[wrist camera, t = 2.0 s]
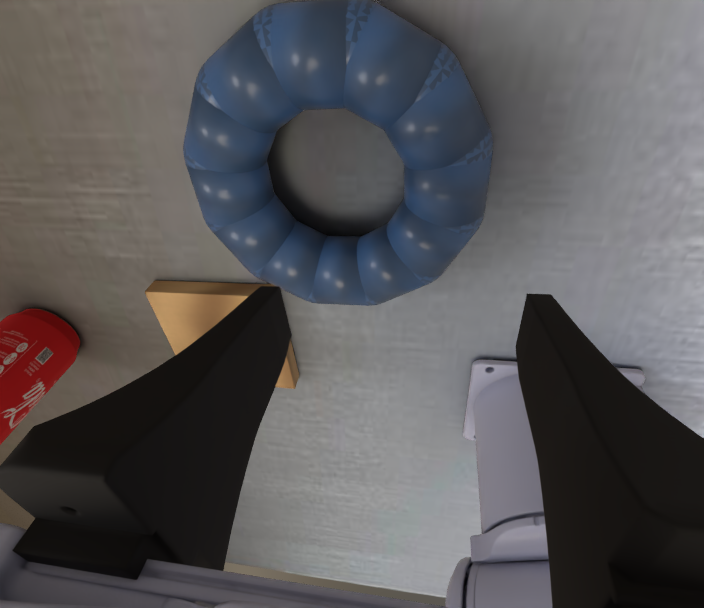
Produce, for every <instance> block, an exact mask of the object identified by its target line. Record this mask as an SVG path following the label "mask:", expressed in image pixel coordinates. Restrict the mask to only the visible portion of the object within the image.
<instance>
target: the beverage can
mask: <svg viewBox="0 0 704 608" xmlns="http://www.w3.org/2000/svg"><path fill="white" fill-rule="evenodd" d="M80 344H81V341H80V337H79V335H78V333H77V332H76V331H75V329H74V328H73V327H72V326H71V325H70V324H69V323H68V322H66V321H65V320H64V319H62V318H61V317H59V316H57V315H56V314H54V313H52V312H49V311H46V310H43V309H39V308H28V309H25V310H24V311H22V312H19V313H16V314H12V315H9V316H7V317H6V318H5V319H3V320H2V321H1V322H0V445H1V443H2V442H3V441H4V440H5V439H6V438H7V437H8V436H9V434H10V433H11V432H12V431H13V430H14V429H15V428H16V427H17V425H18V424H19V423H20V422H21V421H22V420H23V419H24V418H25V416H26V415H27V414H28V413H29V412H30V411H31V410H32V409H33V407H34V406H35V405H36V404H37V403H38V402H39V401H40V400H41V398H42V397H43V396H44V395H45V394H46V393H47V392H48V391H49V390H50V388H51V387H52V386H53V385H54V384H55V383H56V382H57V381H58V379H59V378H60V377H61V376H62V375H63V374H64V373H65V372H66V370H67V369H68V368H69V367H70V366H71V365H72V364H73V363H74V361H75V359H76V355H77V351H78V348H79V347H80Z"/></svg>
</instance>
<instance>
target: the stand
mask: <svg viewBox="0 0 704 608" xmlns="http://www.w3.org/2000/svg"><path fill="white" fill-rule="evenodd" d="M260 286H274V285H272V284H244V283H215V282H186V281H156V280H155V281H154V282H153V283H152V284H151V285H150V286H149V288H148V289H147V290H146V291H145V294H146V296H147V298H148V300H149V302H150V304H151V306H152V308H153V310H154V312H155V314H156V316H157V318H158V320H159V322H160V324H161V326H162V328H163V331H164V333H165V335H166V337H167V339H168V341H169V343H170V345H171V347H172V349H173V351H174V353H175V355H177V354H178V353H180V352H181V351H183V350H184V349H185V348H187V347H188V346H189V345H191V344H192V343H193V342H195V341H196V340H197V339H198V338H200V337H201V336H202V335H204V334H205V333H206V332H207V331H209V330H210V329H211V328H212V327H214V326H215V325H216V324H217V323H218V322H220V321H221V320H222V319H223V318H224V317H225V316H227V315H228V314H229V313H230V312H231V311H232V310H234V309H235V308H236V307H237V306H238V305H239V304H240V303H242V302H243V301H244V300H245V299H246V298H247V297H248V296H250V295H251V294H252V293H253V292H254V291H255V290H257V289H258V288H259V287H260ZM298 378H299V372H298V368H297V364H296V360H295V355H294V351H293V347H292V343H291V339H290V343H289V348H288V352H287V355H286V359H285V363H284V366H283V368H282V371H281V373H280V376H279V378H278V381H277V383H276V386H275V387H280V388H293V389H295V387H296V384H297V381H298Z"/></svg>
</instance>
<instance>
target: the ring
mask: <svg viewBox="0 0 704 608" xmlns="http://www.w3.org/2000/svg"><path fill="white" fill-rule="evenodd" d="M337 108H346V109H347V110H349V111H351V112H353V113H355V114H356V115H358V116H360V117H362V118H364V119H365V120H367V121H369V122H371V123H373V124H374V125H376V126H378V127H380V128H382V129H383V130H384V131H385V133H386V135H387V136H388V138H389V140H390V141H391V143H392V145H393V146H394V148H395V150H396V151H397V153H398V155H399V156H400V158H401V160H402V161H403V163H404V199H403V200H402V202H401V204H400V205H399V207H398V208H397V210H396V212H395V213H394V215H393V217H392V218H391V220H390V221H389V223H387V224H385V225H383V226H381V227H379V228H377V229H375V230H373V231H371V232H369V233H367V234H366V235H364V236H362V237H356V236H327V235H325V234H323V233H321V232H319V231H317V230H315V229H313V228H310V227H308V226H306V225H304V224H302V223H300V222H298V221H296V220H295V218H294V217H293V216H292V215H291V213H290V212H289V211H288V210H287V208H286V207H285V206H284V204H283V203H282V202H281V201H280V199H279V198H278V197H277V196H276V194H275V193H274V191H273V186H272V181H271V176H270V171H269V167H268V162H267V158H268V156H269V153H270V150H271V147H272V144H273V141H274V138H275V135H276V132H277V130H278V129H279V128H281V127H282V126H283V125H285V124H286V123H287V122H289V121H290V120H291V119H293V118H294V117H295V116H297V115H298V114H299V113H301V112H302V111H303V110H313V109H337ZM183 151H184V159H185V163H186V166H187V169H188V172H189V175H190V178H191V181H192V184H193V187H194V190H195V193H196V196H197V199H198V202H199V205H200V208H201V211H202V214H203V217H204V219H205V221H206V224H207V225H208V227H209V228H210V229H211V231H212V232H213V233H214V234H215V235H216V236H217V237H218V238H219V239H220V240H221V242H222V243H223V244H224V245H225V246H226V247H227V248H228V249H229V250H230V251H231V252H232V253H233V254H234V256H235V257H236V258H237V259H238V260H239V261H240V262H241V263H242V264H243V265H244V266H245V267H246V268H247V270H248V271H249V272H251V273H252V274H253V275H254V276H256V277H257V278H259V279H261V280H263V281H265V282H268V283H270V284H272V285H274V286H277V287H280V288H281V289H283V290H285V291H287V292H289V293H291V294H293V295H296V296H298V297H300V298H302V299H304V300H306V301H309V302H312V303H319V304H343V305H367V306H369V305H378V304H381V303H384V302H386V301H389V300H391V299H393V298H396V297H398V296H400V295H403V294H405V293H408V292H410V291H412V290H415V289H417V288H420V287H422V286H424V285H427V284H429V283H431V282H433V281H434V280H436V279H437V278H438V277H439V276H441V275H442V273H443V272H444V271H445V270H446V269H447V267H448V266H449V265H450V264H451V262H452V261H453V260H454V259H455V257H456V256H457V255H458V254H459V252H460V251H461V250H462V249H463V247H464V246H465V245H466V244H467V242H468V241H469V240H470V239H471V237H472V236H473V235H474V234H475V232H476V231H477V230H478V228H479V226H480V225H481V223H482V220H483V217H484V213H485V208H486V200H487V192H488V184H489V176H490V168H491V160H492V152H493V138H492V133H491V130H490V127H489V124H488V122H487V120H486V118H485V116H484V114H483V112H482V110H481V107H480V105H479V103H478V101H477V99H476V97H475V95H474V93H473V90H472V88H471V86H470V84H469V82H468V80H467V78H466V76H465V74H464V71H463V69H462V67H461V65H460V63H459V61H458V59H457V58H456V56H455V54H454V53H453V52H452V51H451V50H450V49H449V48H448V47H447V46H446V45H445V44H443V43H442V42H441V41H439V40H437V39H436V38H434V37H433V36H431V35H429V34H428V33H426V32H424V31H423V30H421V29H419V28H418V27H416V26H414V25H413V24H411V23H409V22H408V21H406V20H405V19H403V18H401V17H400V16H398V15H396V14H395V13H393V12H391V11H390V10H388V9H386V8H385V7H383V6H381V5H380V4H378V3H376V2H374V1H372V0H311V1H300V2H289V3H278V4H273V5H269V6H267V7H265V8H263V9H262V10H260V11H259V12H258V13H257V14H255V15H254V16H253V17H252V18H251V19H250V20H249V21H248V22H247V23H246V24H244V25H243V26H242V27H241V28H240V29H239V30H238V31H237V32H236V33H235V34H234V35H233V36H232V37H231V38H230V39H229V40H228V41H227V42H226V43H225V44H223V45H222V46H221V47H220V48H219V49H218V50H217V51H216V52H215V53H214V54H213V55H212V56H211V57H210V58H209V59H208V60H207V61H206V62H205V63H204V64H203V66H202V67H201V69H200V71H199V73H198V76H197V78H196V82H195V87H194V93H193V98H192V103H191V108H190V113H189V119H188V124H187V129H186V134H185V139H184V148H183Z"/></svg>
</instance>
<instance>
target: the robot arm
mask: <svg viewBox="0 0 704 608" xmlns="http://www.w3.org/2000/svg"><path fill="white" fill-rule="evenodd" d="M290 339H291V331H290V327H289V323H288V319H287V315H286V311H285V307H284V303H283V299H282V295H281V290H280V287H277V286H260V287H259V288H258V289H257V290H255V291H254V292H253V293H252V294H251V295H250V296H248V297H247V298H246V299H245V300H244V301H243V302H242V303H240V304H239V305H238V306H237V307H236V308H235V309H234V310H232V311H231V312H230V313H229V314H228V315H227V316H225V317H224V318H223V319H222V320H221V321H220V322H218V323H217V324H216V325H215V326H214V327H212V328H211V329H210V330H209V331H207V332H206V333H205V334H204V335H202V336H201V337H200V338H198V339H197V340H196V341H195V342H193V343H192V344H191V345H189V346H188V347H187V348H185V349H184V350H183V351H181V352H180V353H178V354H177V355H175V356H174V357H172V358H171V359H169V360H168V361H166V362H165V363H163V364H162V365H160V366H159V367H157V368H155V369H154V370H152V371H150V372H149V373H147V374H145V375H143V376H142V377H140V378H138V379H136V380H135V381H133V382H131V383H129V384H128V385H126V386H124V387H122V388H120V389H118V390H116V391H114V392H112V393H110V394H108V395H106V396H104V397H102V398H100V399H98V400H96V401H94V402H92V403H90V404H87V405H85V406H83V407H81V408H78V409H76V410H74V411H71V412H69V413H66V414H64V415H61V416H59V417H57V418H54V419H52V420H49V421H47V422H44V423H42V424H39V425H36V426H34V427H33V428H32V429H31V430H30V431H29V433H28V434H27V435H26V436H25V437H24V439H23V440H22V441H21V442H20V443H19V444H18V446H17V447H16V448H15V449H14V450H13V451H12V453H11V454H10V455H9V456H8V457H7V459H6V460H5V461H4V462H3V463H2V464H1V466H0V488H1V489H2V490H3V491H4V492H5V493H6V494H7V495H8V496H9V497H11V498H12V499H13V500H14V501H15V502H17V503H18V504H19V505H20V506H21V507H23V508H24V509H25V510H26V511H28V512H29V513H30V514H31V515H32V516H34V517H35V520H34V521H33V522H32V524H31V525H30V527H29V528H28V529H27V530H25V529H23V528H21V527H18V526H15V525H11V524H4V523H0V608H704V438H702V437H701V436H699V435H698V434H696V433H695V432H694V431H692V430H691V429H689V428H688V427H687V426H685V425H684V424H683V423H681V422H680V421H679V420H677V419H676V418H674V417H673V416H672V415H670V414H669V413H668V412H666V411H665V410H664V409H663V408H661V407H660V406H659V405H658V404H656V403H655V402H654V401H653V400H652V399H650V398H649V397H648V396H647V395H646V394H644V391H643V389H642V387H641V386H642V385H643V383H644V381H645V378H646V377H645V375H644V373H643V371H641V370H639V369H628V368H616V367H615V366H614V365H612V364H611V363H610V362H609V361H608V359H607V358H606V357H605V356H604V355H603V354H602V353H601V352H600V351H599V350H598V349H597V348H596V347H595V346H594V345H593V343H592V342H591V341H590V340H589V339H588V338H587V337H586V336H585V335H584V333H583V332H582V331H581V330H580V329H579V328H578V327H577V325H576V324H575V323H574V322H573V321H572V319H571V318H570V317H569V316H568V315H567V313H566V312H565V311H564V310H563V308H562V307H561V306H560V305H559V304H558V302H557V301H556V300H555V299H554V298H553V296H552V295H550V294H527V297H526V301H525V306H524V311H523V315H522V320H521V324H520V329H519V334H518V338H517V343H516V356H517V362H514V361H497V360H476V361H475V362H473V364H472V371H471V378H470V385H469V392H468V399H467V406H466V413H465V420H464V427H463V437H464V438H465V439H468V440H476V453H477V469H478V484H479V499H480V514H481V529H482V534H480V535H474V536H471V537H470V540H471V557H465V558H463V559H461V560H460V561H459V563H458V564H457V566H456V568H455V570H454V573H453V575H452V577H451V579H450V582H449V585H448V589H447V595H446V607H444V606H438V605H432V604H426V603H420V602H413V601H407V600H401V599H394V598H388V597H382V596H376V595H369V594H363V593H357V592H351V591H344V590H339V589H332V588H326V587H320V586H314V585H307V584H300V583H295V582H288V581H282V580H276V579H270V578H263V577H257V576H251V575H245V574H238V573H232V572H226V571H223V569H224V564H225V559H226V554H227V549H228V544H229V539H230V534H231V530H232V525H233V521H234V517H235V512H236V508H237V504H238V499H239V495H240V491H241V487H242V484H243V480H244V476H245V472H246V468H247V465H248V461H249V458H250V454H251V451H252V447H253V444H254V440H255V437H256V434H257V431H258V428H259V425H260V423H261V420H262V418H263V415H264V413H265V410H266V408H267V406H268V403H269V401H270V398H271V396H272V393H273V391H274V388H275V386H276V383H277V381H278V378H279V376H280V373H281V371H282V368H283V366H284V363H285V359H286V355H287V352H288V348H289V343H290ZM487 367H492V368H487Z"/></svg>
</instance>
